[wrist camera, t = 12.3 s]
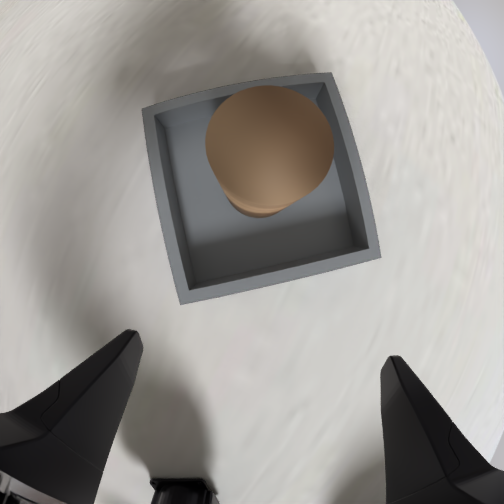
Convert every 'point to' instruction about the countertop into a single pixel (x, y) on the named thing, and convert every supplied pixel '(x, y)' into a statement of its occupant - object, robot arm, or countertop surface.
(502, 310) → the countertop surface
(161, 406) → the countertop surface
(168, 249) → the tote
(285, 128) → the walnut cylinder
